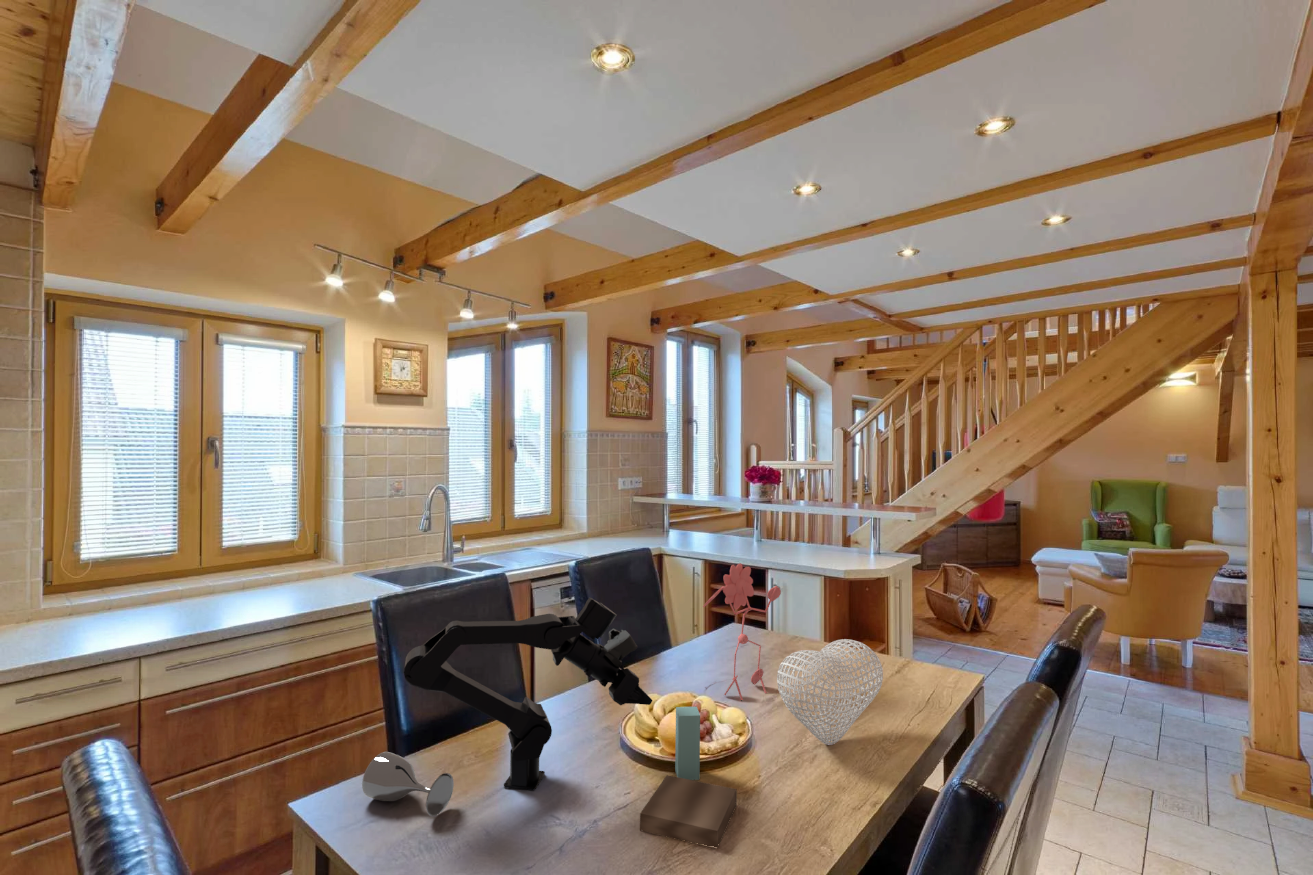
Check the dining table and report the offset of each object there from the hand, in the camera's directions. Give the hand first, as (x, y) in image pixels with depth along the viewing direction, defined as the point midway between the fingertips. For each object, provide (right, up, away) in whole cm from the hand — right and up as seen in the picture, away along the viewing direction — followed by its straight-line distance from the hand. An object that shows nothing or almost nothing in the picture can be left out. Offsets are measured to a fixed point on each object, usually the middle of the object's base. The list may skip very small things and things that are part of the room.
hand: (644, 694), depth 137 cm
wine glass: (-37, -10, -20) cm, 43 cm away
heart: (+42, -15, +9) cm, 46 cm away
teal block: (+9, -14, -5) cm, 18 cm away
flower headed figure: (+25, -15, +41) cm, 50 cm away
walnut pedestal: (+9, -14, -20) cm, 26 cm away
